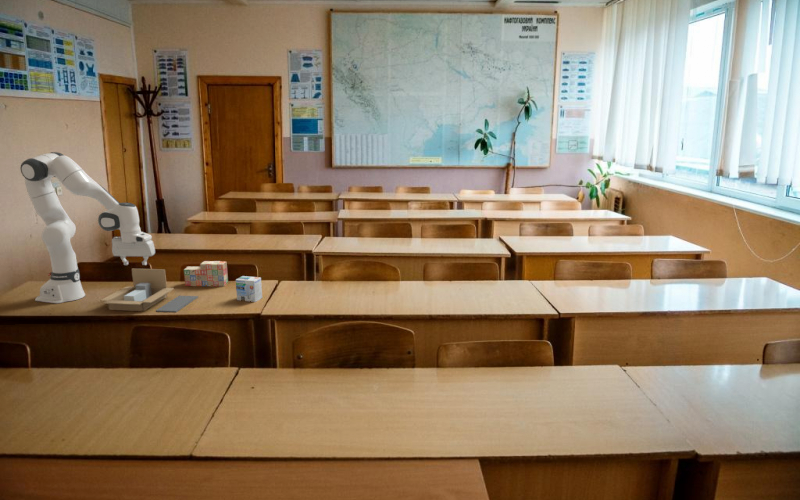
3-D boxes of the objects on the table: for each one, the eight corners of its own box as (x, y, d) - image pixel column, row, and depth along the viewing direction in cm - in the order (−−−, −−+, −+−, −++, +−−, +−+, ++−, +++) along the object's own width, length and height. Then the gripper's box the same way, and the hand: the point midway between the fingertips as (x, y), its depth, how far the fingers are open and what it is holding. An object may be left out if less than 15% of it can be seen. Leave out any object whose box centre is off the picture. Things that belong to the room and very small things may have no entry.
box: (125, 307, 282) (123, 291, 280) (142, 297, 297) (141, 282, 295) (135, 308, 282) (133, 292, 280) (152, 298, 296) (150, 282, 294)
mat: (155, 311, 277) (155, 310, 276) (179, 296, 298) (179, 295, 298) (176, 312, 275) (176, 311, 275) (198, 297, 296) (198, 296, 296)
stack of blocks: (185, 286, 315) (182, 263, 312) (189, 282, 321) (187, 260, 318) (224, 286, 314) (222, 264, 311) (228, 283, 320) (226, 260, 317)
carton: (97, 311, 278) (93, 282, 274) (128, 294, 302) (124, 268, 298) (148, 313, 274) (144, 284, 271) (175, 296, 298) (172, 269, 295)
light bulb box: (236, 300, 291) (234, 279, 289) (244, 296, 297) (242, 275, 295) (255, 302, 288) (254, 281, 286) (262, 298, 294) (261, 277, 292)
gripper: (107, 238, 280) (111, 266, 283) (147, 238, 277) (151, 266, 281) (115, 235, 286) (119, 262, 290) (154, 235, 283) (158, 263, 287)
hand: (135, 264), depth 285 cm, fingers open, 8 cm apart
